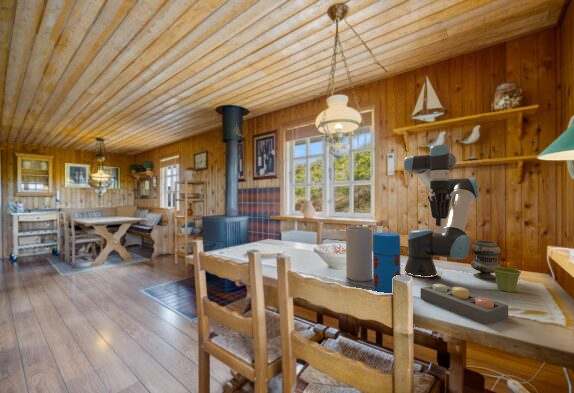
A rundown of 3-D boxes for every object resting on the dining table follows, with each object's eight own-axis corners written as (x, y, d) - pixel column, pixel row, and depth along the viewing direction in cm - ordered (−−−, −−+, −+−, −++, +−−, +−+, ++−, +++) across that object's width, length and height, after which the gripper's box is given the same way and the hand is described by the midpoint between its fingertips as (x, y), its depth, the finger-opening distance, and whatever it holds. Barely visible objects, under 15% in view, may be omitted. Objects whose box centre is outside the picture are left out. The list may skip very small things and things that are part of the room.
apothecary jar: (480, 280, 124) (479, 243, 124) (465, 273, 136) (465, 239, 136) (507, 281, 122) (507, 243, 122) (490, 273, 134) (490, 239, 134)
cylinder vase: (361, 273, 138) (361, 226, 138) (377, 280, 126) (377, 229, 126) (341, 275, 134) (341, 227, 134) (356, 283, 122) (355, 230, 122)
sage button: (429, 294, 104) (429, 284, 104) (438, 292, 106) (438, 283, 106) (441, 299, 99) (441, 288, 99) (450, 297, 101) (450, 286, 101)
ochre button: (449, 298, 97) (449, 288, 97) (457, 296, 99) (457, 286, 99) (463, 303, 92) (463, 292, 92) (471, 301, 94) (471, 290, 94)
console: (420, 297, 104) (420, 288, 104) (440, 293, 109) (440, 283, 109) (487, 324, 82) (487, 312, 82) (508, 317, 87) (508, 305, 87)
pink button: (472, 310, 89) (472, 299, 89) (480, 307, 91) (480, 296, 91) (488, 316, 85) (488, 304, 85) (497, 313, 87) (497, 301, 87)
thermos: (368, 290, 113) (367, 233, 113) (387, 286, 117) (386, 231, 117) (386, 299, 103) (385, 236, 103) (406, 295, 107) (405, 235, 107)
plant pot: (527, 294, 106) (526, 273, 106) (500, 293, 108) (500, 272, 108) (512, 286, 115) (512, 267, 115) (488, 285, 117) (488, 266, 117)
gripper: (437, 179, 109) (438, 235, 109) (457, 180, 114) (458, 233, 114) (422, 180, 116) (422, 233, 116) (441, 181, 121) (441, 231, 121)
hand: (440, 233), depth 115 cm, fingers closed
